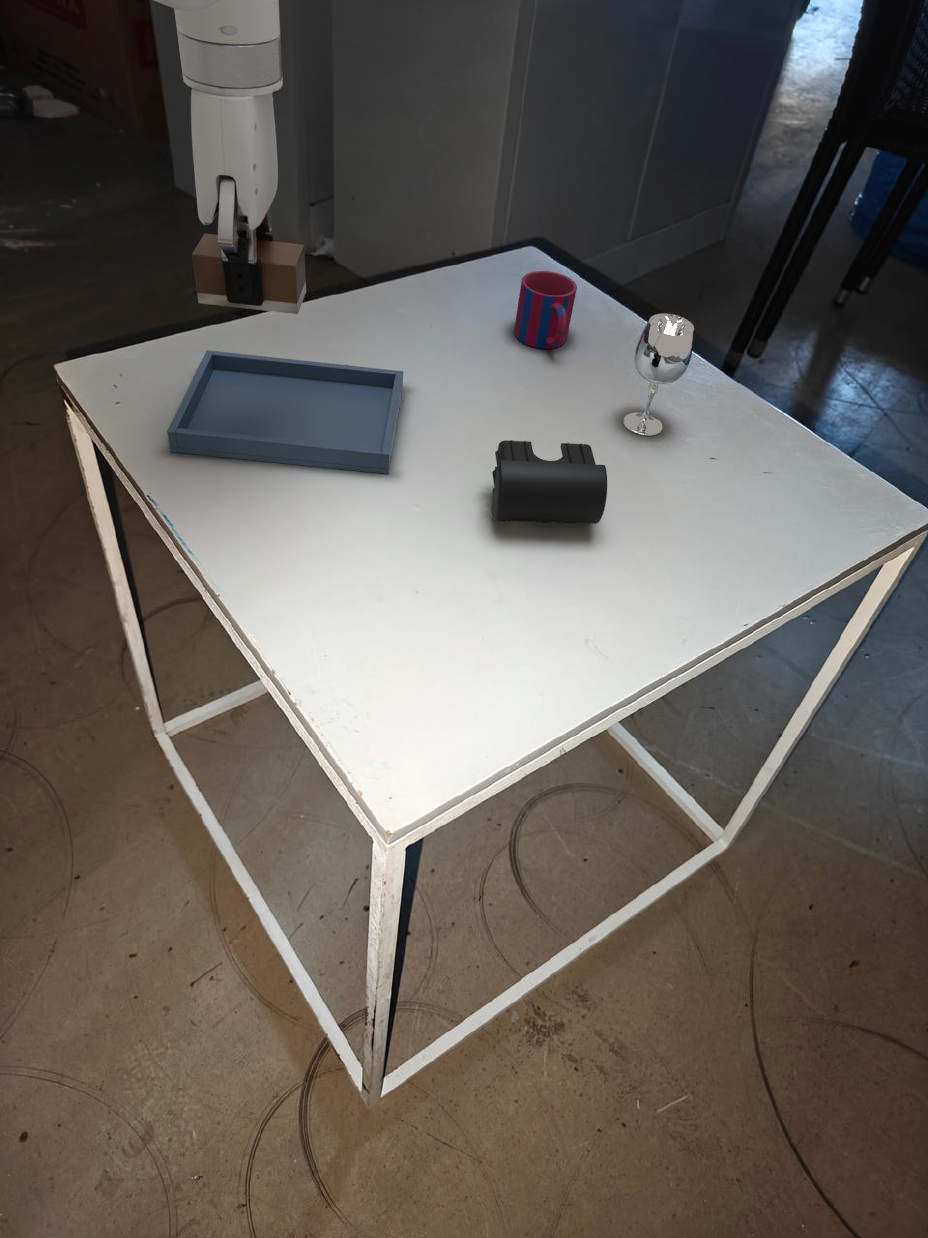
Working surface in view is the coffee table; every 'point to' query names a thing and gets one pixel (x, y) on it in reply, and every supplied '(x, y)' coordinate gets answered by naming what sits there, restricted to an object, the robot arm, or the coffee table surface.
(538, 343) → the mug
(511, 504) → the end cap
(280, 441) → the tray
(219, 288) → the eraser
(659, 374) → the wineglass
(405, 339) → the coffee table surface
